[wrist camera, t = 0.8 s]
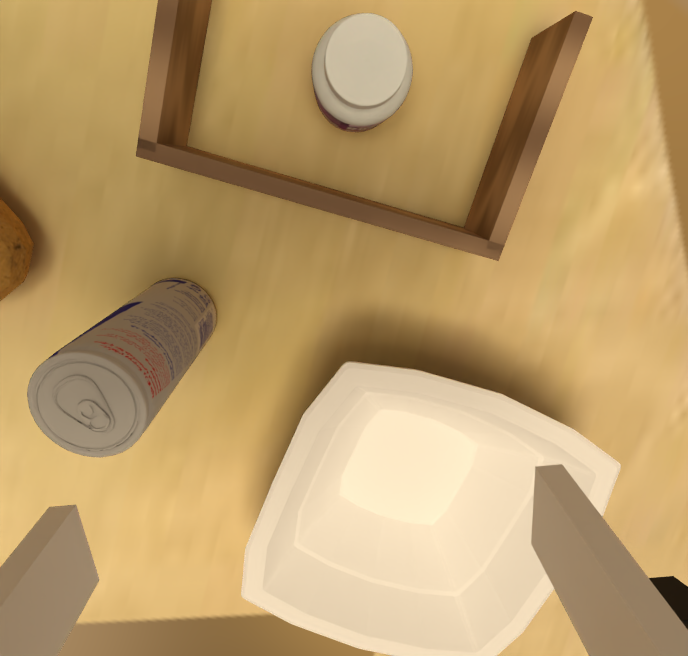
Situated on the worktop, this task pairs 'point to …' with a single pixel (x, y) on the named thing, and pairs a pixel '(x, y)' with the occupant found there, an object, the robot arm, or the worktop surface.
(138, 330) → the beverage can
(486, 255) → the wooden u-shaped frame
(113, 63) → the worktop surface
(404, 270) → the worktop surface
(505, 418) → the bowl
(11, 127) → the worktop surface
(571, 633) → the worktop surface
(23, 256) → the potato
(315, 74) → the pill bottle
